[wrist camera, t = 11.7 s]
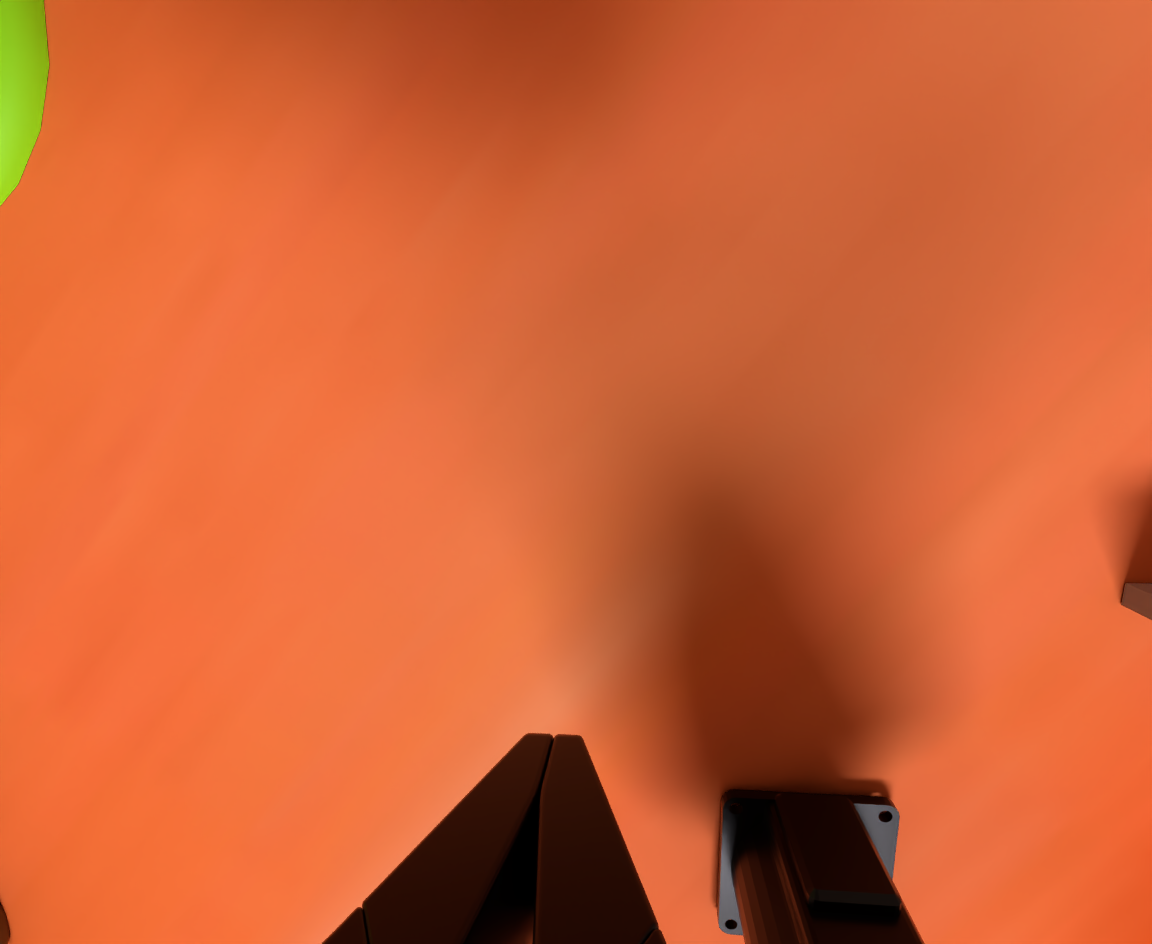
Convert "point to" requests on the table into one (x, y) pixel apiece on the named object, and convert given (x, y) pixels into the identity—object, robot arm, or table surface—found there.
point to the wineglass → (20, 85)
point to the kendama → (3, 927)
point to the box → (1138, 598)
